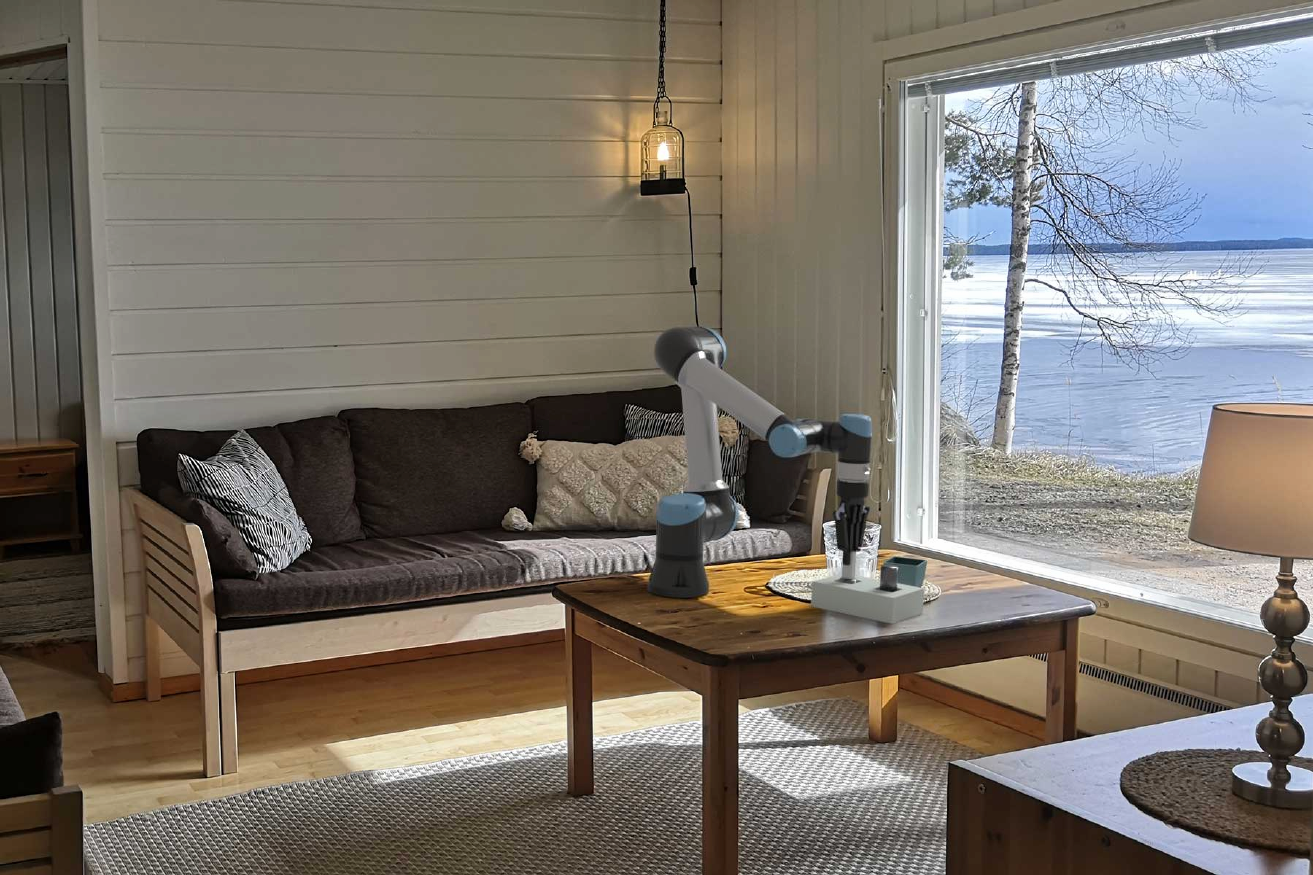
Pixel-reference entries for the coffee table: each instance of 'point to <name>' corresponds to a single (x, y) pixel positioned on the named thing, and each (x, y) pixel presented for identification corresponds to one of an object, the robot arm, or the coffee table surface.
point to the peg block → (867, 599)
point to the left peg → (847, 580)
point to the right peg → (888, 578)
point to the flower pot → (909, 570)
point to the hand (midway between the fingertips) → (848, 577)
